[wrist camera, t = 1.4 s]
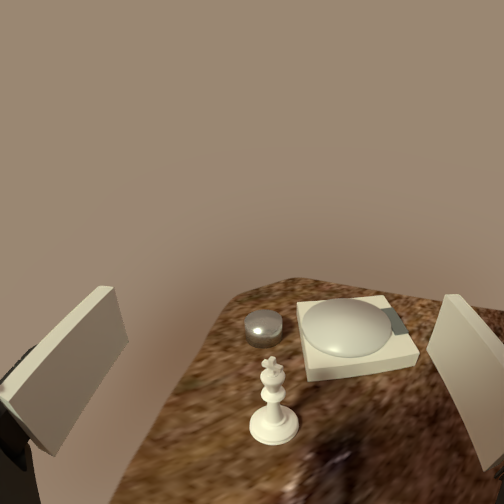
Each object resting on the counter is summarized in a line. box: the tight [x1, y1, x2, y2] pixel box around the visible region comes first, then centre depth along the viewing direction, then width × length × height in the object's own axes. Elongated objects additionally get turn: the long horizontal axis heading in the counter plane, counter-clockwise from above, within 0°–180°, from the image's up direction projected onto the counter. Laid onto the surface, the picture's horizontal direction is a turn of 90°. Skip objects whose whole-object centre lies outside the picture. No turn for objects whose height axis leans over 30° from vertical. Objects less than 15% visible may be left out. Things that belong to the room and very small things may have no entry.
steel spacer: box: [245, 310, 282, 348], centre depth 38 cm, size 5×5×3 cm
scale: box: [297, 295, 420, 382], centre depth 35 cm, size 14×14×3 cm
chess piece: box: [250, 356, 299, 445], centre depth 23 cm, size 5×5×10 cm
